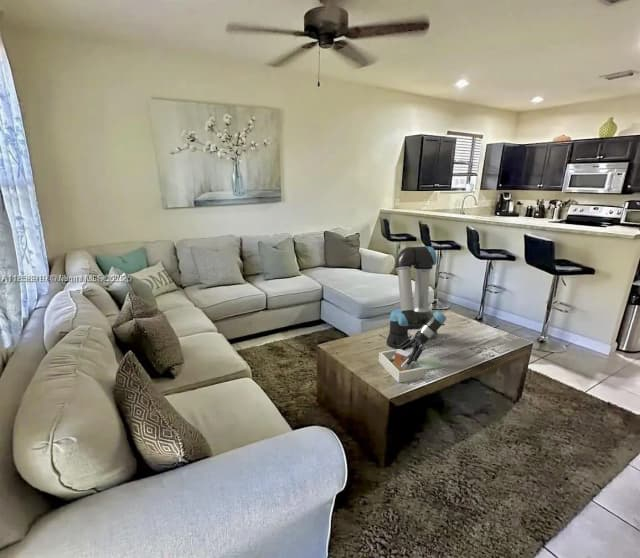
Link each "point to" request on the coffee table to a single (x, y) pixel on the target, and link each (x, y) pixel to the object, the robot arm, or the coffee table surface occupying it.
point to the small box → (401, 359)
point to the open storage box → (398, 375)
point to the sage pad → (430, 363)
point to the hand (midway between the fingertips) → (397, 363)
